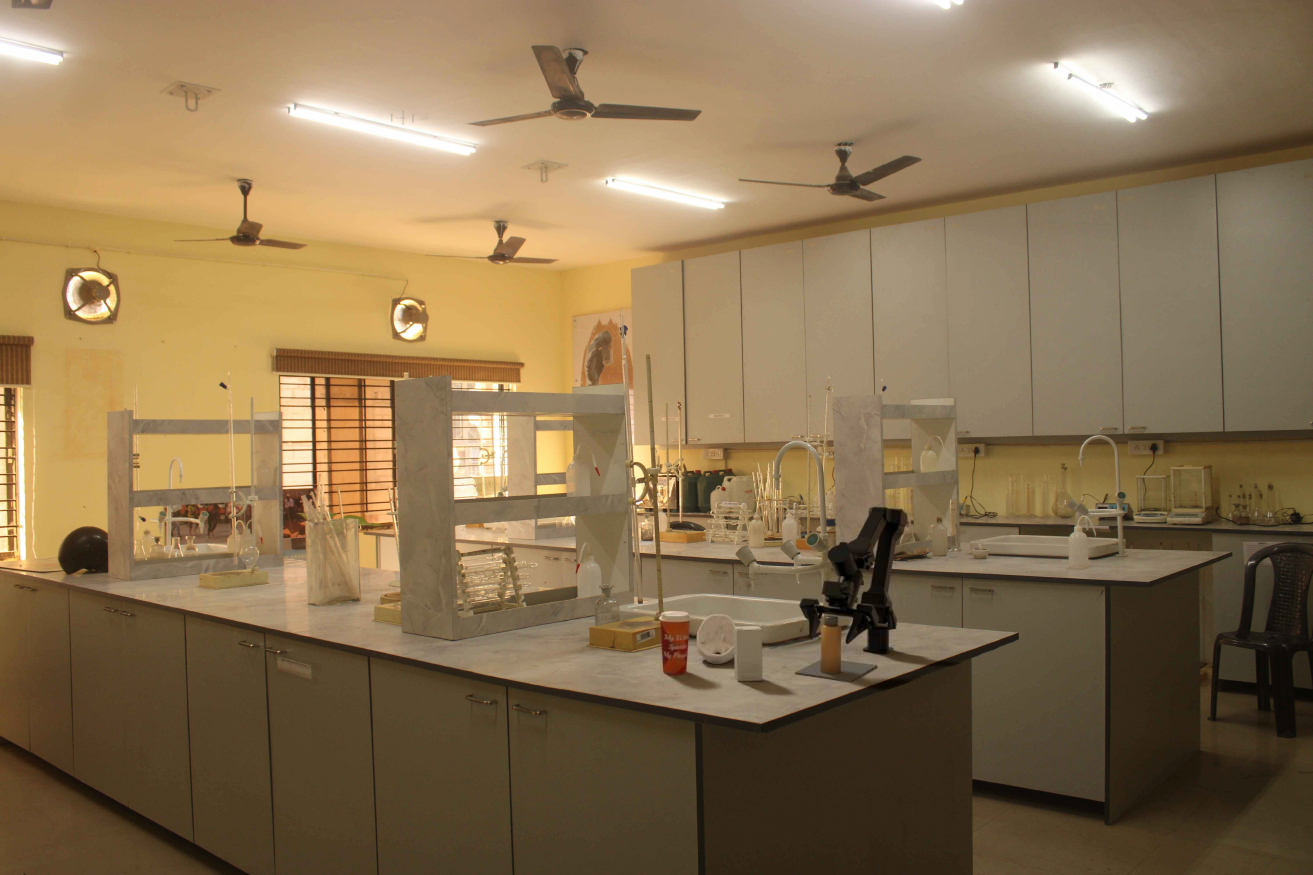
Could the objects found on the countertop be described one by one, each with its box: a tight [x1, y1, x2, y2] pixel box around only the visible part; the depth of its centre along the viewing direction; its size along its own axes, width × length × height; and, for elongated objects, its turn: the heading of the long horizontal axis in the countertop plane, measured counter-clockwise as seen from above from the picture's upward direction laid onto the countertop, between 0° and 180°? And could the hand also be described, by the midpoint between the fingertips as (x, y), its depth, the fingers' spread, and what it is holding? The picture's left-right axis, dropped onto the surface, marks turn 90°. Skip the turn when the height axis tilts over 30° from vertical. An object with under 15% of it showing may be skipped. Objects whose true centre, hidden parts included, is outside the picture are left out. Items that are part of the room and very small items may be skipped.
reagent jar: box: [820, 615, 842, 674], centre depth 228 cm, size 5×5×13 cm
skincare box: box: [733, 625, 763, 682], centre depth 222 cm, size 6×4×12 cm
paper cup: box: [658, 610, 692, 676], centre depth 229 cm, size 8×8×14 cm
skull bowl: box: [696, 613, 736, 665], centre depth 243 cm, size 10×14×12 cm
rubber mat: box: [794, 659, 878, 683], centre depth 232 cm, size 18×14×1 cm
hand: (828, 640), depth 227 cm, fingers open, 9 cm apart
